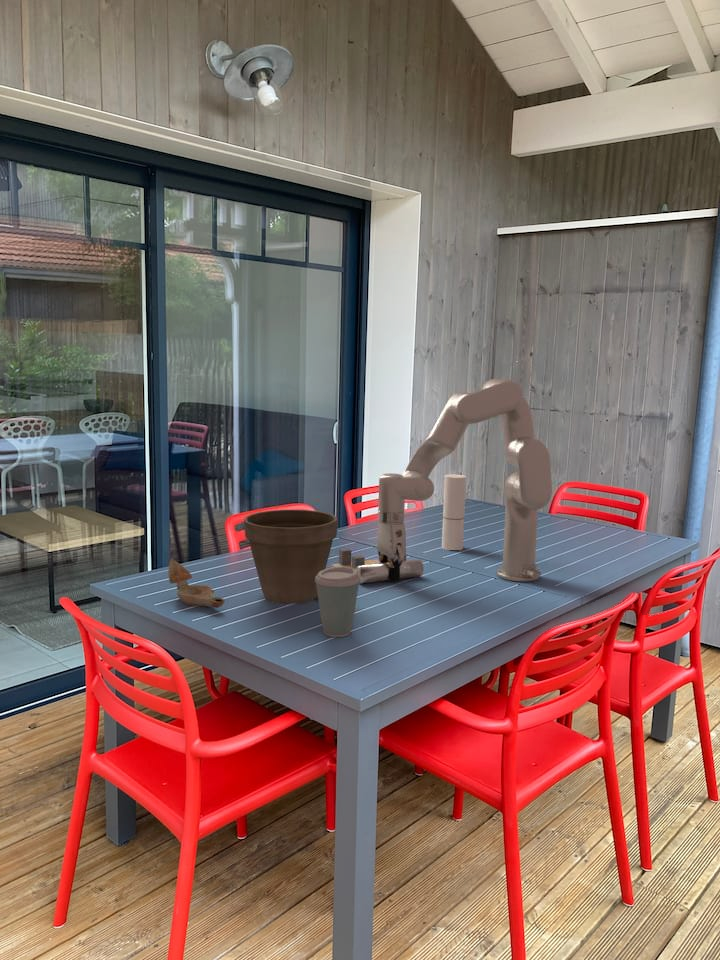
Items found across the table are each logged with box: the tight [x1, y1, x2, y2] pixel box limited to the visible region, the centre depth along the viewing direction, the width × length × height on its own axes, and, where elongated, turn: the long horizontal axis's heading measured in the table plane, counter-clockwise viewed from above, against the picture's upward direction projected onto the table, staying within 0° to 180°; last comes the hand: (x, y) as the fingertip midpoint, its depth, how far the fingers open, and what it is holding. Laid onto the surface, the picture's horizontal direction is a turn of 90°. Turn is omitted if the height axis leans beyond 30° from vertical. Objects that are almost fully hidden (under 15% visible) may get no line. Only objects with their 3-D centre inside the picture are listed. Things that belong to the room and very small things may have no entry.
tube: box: [356, 558, 425, 585], centre depth 224 cm, size 20×5×5 cm, turn 116°
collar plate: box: [330, 548, 407, 569], centre depth 234 cm, size 11×22×6 cm, turn 116°
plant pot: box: [243, 509, 338, 605], centre depth 206 cm, size 25×25×22 cm
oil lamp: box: [167, 558, 226, 609], centre depth 199 cm, size 9×21×10 cm, turn 49°
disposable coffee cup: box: [315, 566, 360, 638], centre depth 180 cm, size 11×11×15 cm
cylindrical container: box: [441, 473, 467, 551], centre depth 261 cm, size 7×7×25 cm
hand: (389, 577), depth 224 cm, fingers closed on tube, 5 cm apart
